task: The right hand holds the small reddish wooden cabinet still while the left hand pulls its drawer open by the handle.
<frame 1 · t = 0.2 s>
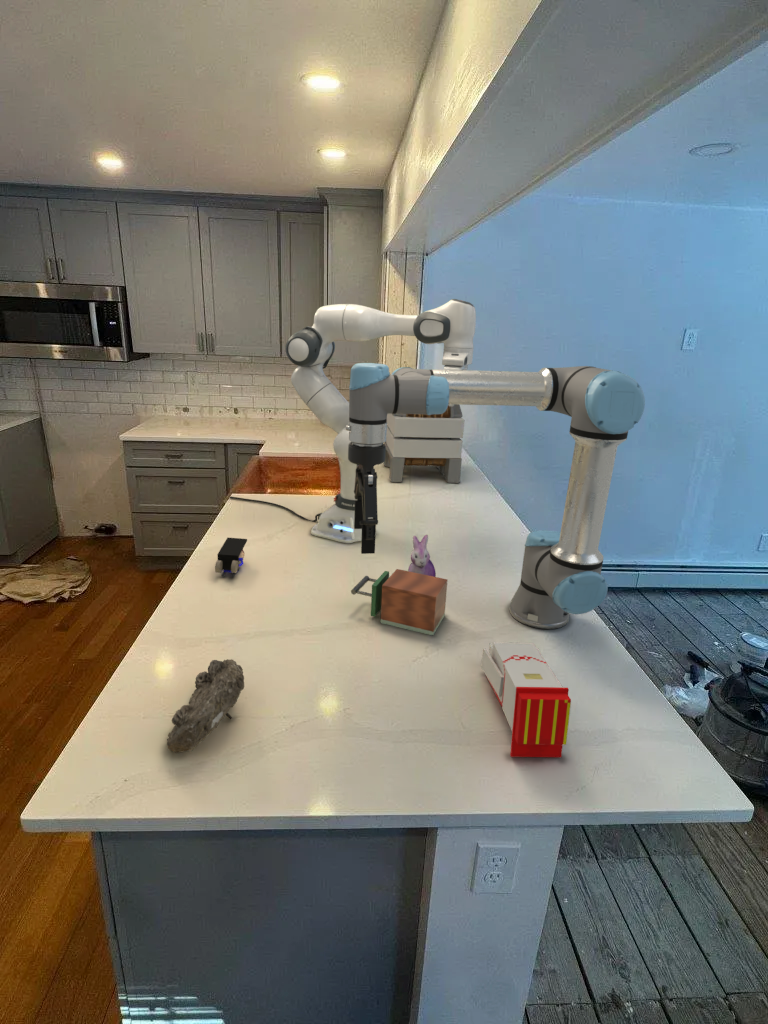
left hand: (453, 403, 174), 48 cm above the counter, tool pointing down, fingers open, 8 cm apart
right hand: (363, 540, 121), 28 cm above the counter, tool pointing down, fingers open, 13 cm apart
figurine: (420, 585, 164), on the counter
toy: (516, 707, 114), on the counter
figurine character: (232, 569, 168), on the counter
fossil: (212, 717, 108), on the counter
drawer: (390, 595, 146), point 5 cm above the counter, slide at 1.8 cm
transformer: (419, 473, 275), on the counter
cabinet: (413, 619, 145), on the counter
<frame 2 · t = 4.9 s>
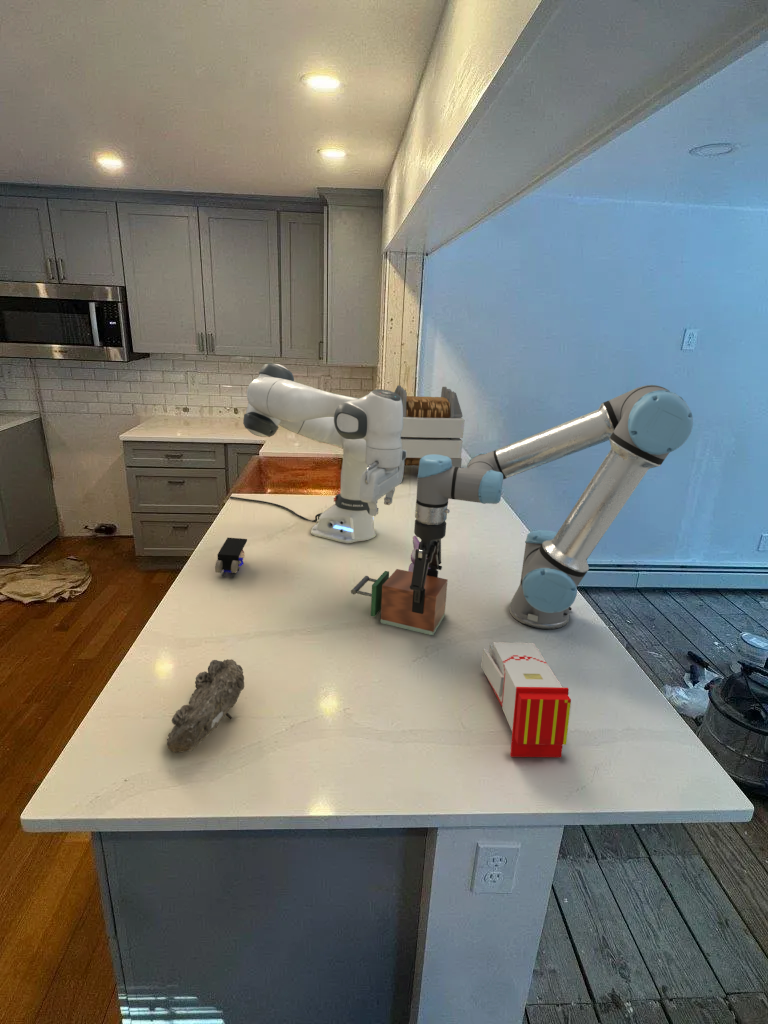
left hand: (381, 509, 145), 26 cm above the counter, tool pointing down, fingers open, 8 cm apart
right hand: (424, 602, 142), 6 cm above the counter, tool pointing down, fingers closed on cabinet, 10 cm apart
cabinet: (413, 619, 145), on the counter, touching right hand
everything else where it was.
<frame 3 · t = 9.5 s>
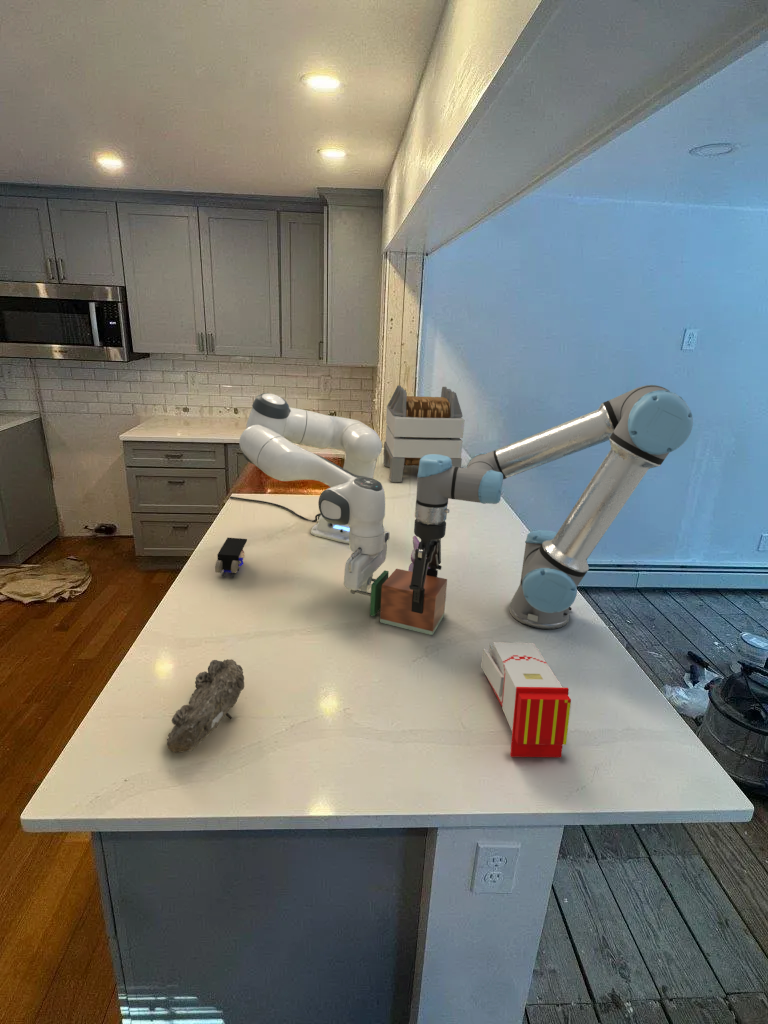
left hand: (365, 590, 148), 5 cm above the counter, tool pointing down, fingers closed, pressing on drawer
right hand: (424, 601, 143), 6 cm above the counter, tool pointing down, fingers closed on cabinet, 10 cm apart
drawer: (389, 595, 146), point 5 cm above the counter, slide at 1.9 cm, touching left hand
cabinet: (412, 619, 145), on the counter, touching right hand
everything else where it was.
when the right hand's fingers open (6 cm above the counter, at t = 12.2 s): cabinet stays where it is, on the counter.
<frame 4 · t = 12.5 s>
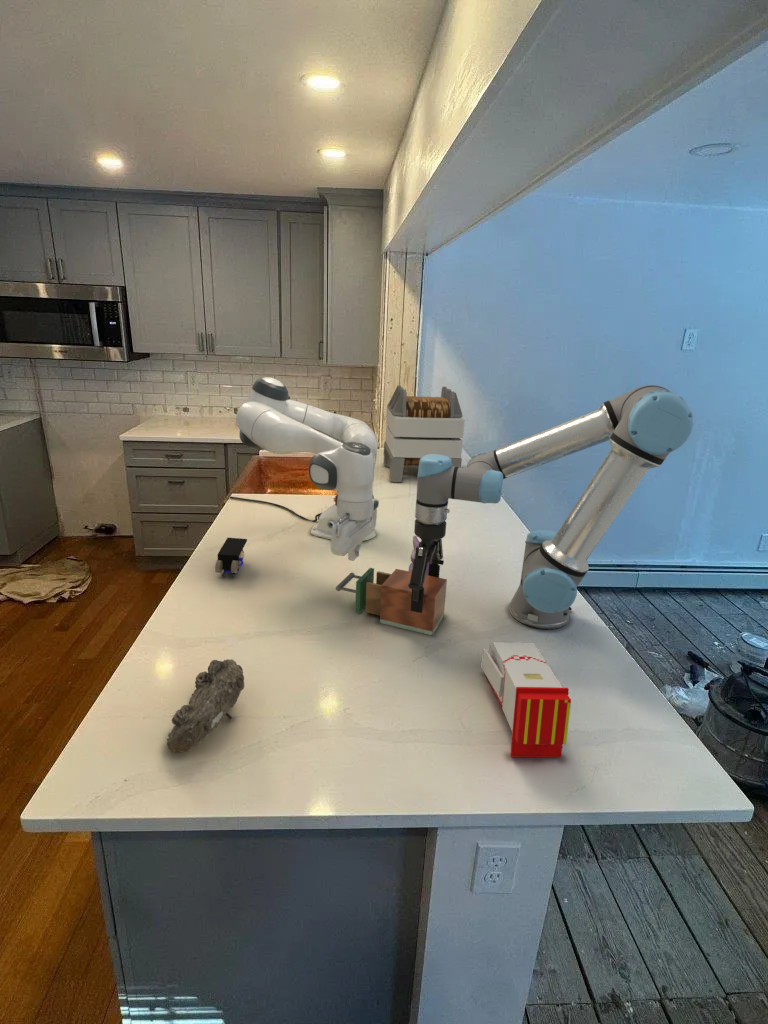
left hand: (353, 558, 146), 14 cm above the counter, tool pointing down, fingers closed
right hand: (424, 599, 142), 7 cm above the counter, tool pointing down, fingers open, 13 cm apart
drawer: (375, 592, 147), point 5 cm above the counter, slide at 5.9 cm
cabinet: (412, 619, 145), on the counter
everything else where it was.
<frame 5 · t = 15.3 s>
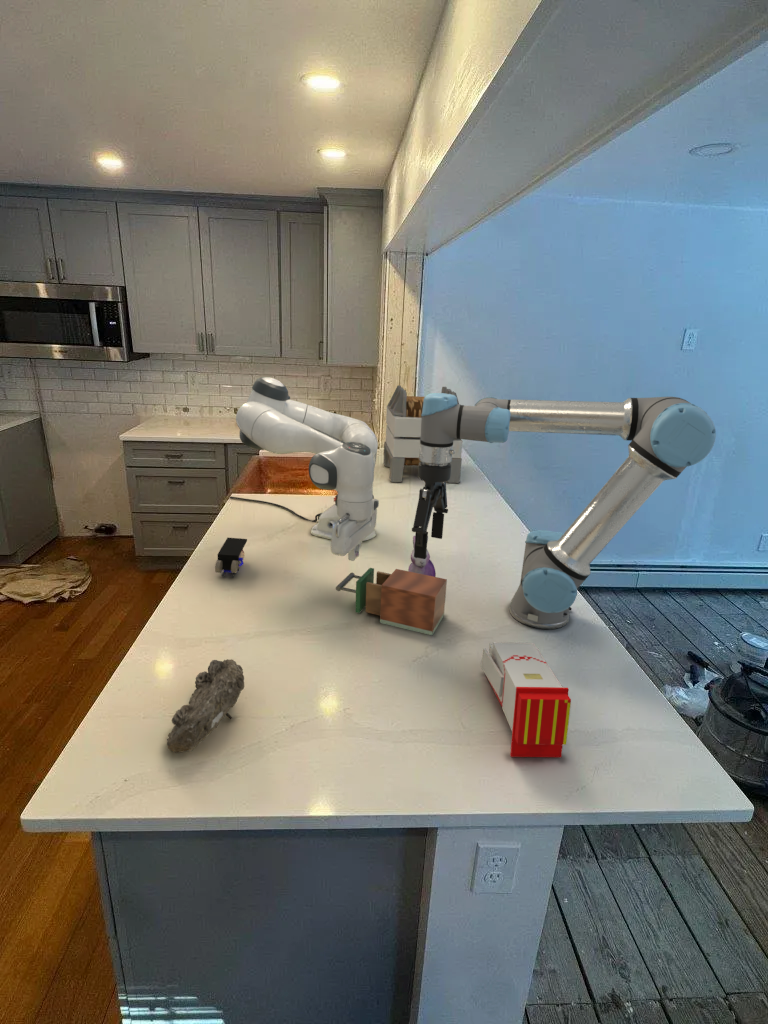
left hand: (353, 558, 146), 14 cm above the counter, tool pointing down, fingers closed
right hand: (428, 547, 137), 21 cm above the counter, tool pointing down, fingers open, 13 cm apart
nothing on the counter moved.
at the end: drawer slide at 5.9 cm; cabinet tilted 0°; cabinet never tilted more than 1° during the clip; cabinet moved 0.2 cm from its start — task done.
